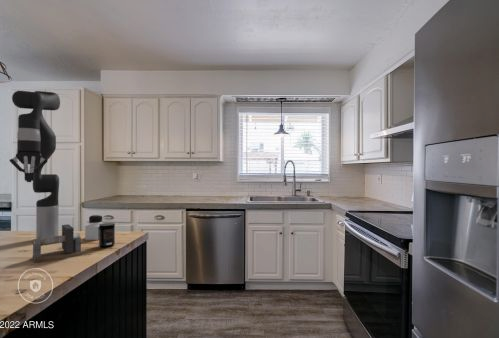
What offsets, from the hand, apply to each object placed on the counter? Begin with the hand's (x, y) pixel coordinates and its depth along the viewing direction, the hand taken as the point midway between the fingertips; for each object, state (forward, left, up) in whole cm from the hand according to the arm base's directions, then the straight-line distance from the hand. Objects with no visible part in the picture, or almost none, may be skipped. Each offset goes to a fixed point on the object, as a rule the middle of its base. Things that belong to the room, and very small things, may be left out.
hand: (28, 182), depth 118 cm
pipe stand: (+7, +9, -31) cm, 33 cm away
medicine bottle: (-15, +29, -31) cm, 45 cm away
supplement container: (+4, +29, -31) cm, 43 cm away
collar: (+7, +13, -29) cm, 32 cm away
